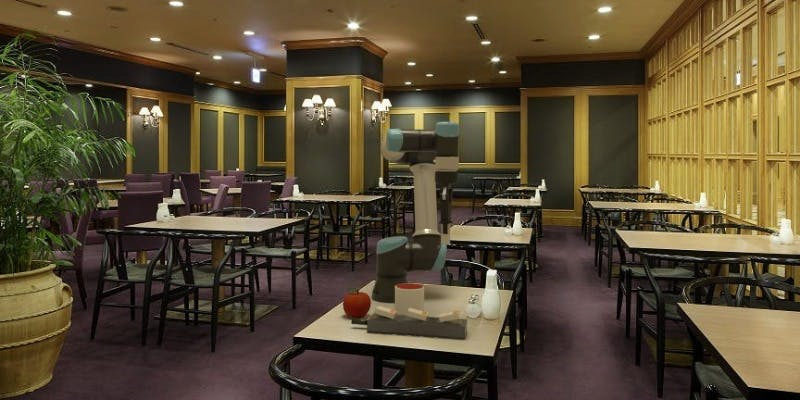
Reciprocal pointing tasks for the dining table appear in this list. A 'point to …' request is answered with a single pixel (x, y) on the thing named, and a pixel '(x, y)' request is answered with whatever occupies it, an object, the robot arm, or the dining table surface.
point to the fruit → (356, 304)
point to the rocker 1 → (385, 312)
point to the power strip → (415, 326)
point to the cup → (408, 297)
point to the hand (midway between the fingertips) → (445, 243)
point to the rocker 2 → (417, 314)
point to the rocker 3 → (449, 316)
